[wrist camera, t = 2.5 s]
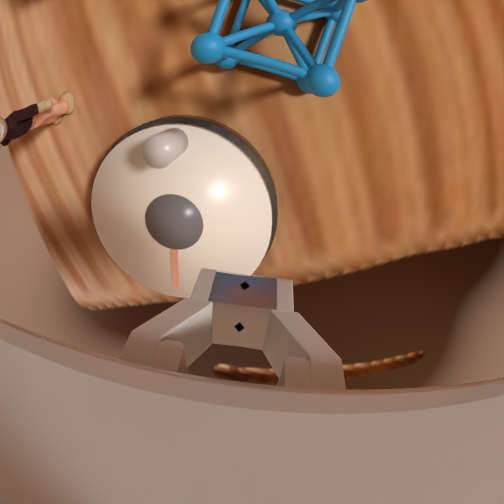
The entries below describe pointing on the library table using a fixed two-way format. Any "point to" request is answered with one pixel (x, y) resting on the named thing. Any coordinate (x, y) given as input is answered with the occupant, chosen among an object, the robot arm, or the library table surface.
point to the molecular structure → (284, 24)
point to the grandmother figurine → (35, 117)
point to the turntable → (180, 207)
